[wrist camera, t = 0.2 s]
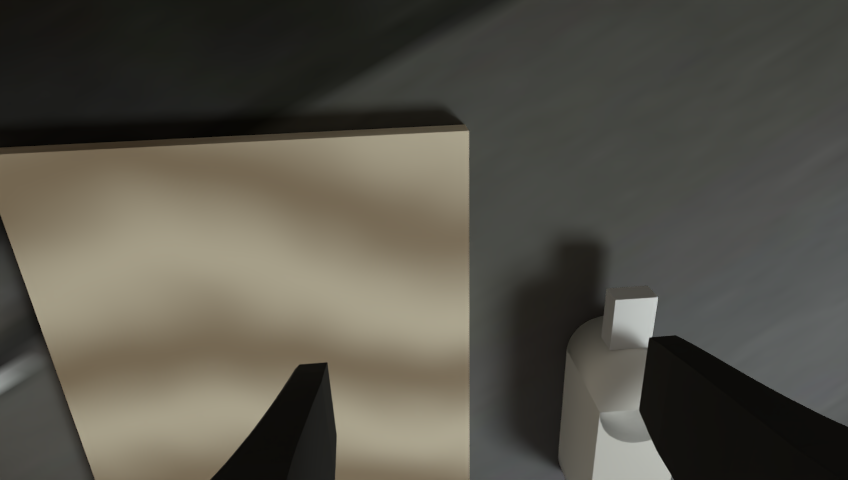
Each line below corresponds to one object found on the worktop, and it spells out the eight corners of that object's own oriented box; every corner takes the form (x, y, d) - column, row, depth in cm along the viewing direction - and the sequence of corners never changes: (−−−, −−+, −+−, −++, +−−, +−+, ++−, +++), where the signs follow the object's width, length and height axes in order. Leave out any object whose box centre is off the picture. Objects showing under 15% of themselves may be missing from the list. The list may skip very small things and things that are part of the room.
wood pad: (466, 495, 28) (469, 512, 27) (126, 525, 27) (117, 543, 26) (464, 124, 20) (469, 130, 19) (-2, 147, 19) (-21, 155, 18)
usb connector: (620, 475, 28) (657, 548, 24) (556, 480, 28) (583, 555, 24) (650, 266, 23) (701, 317, 20) (573, 271, 23) (610, 324, 19)
